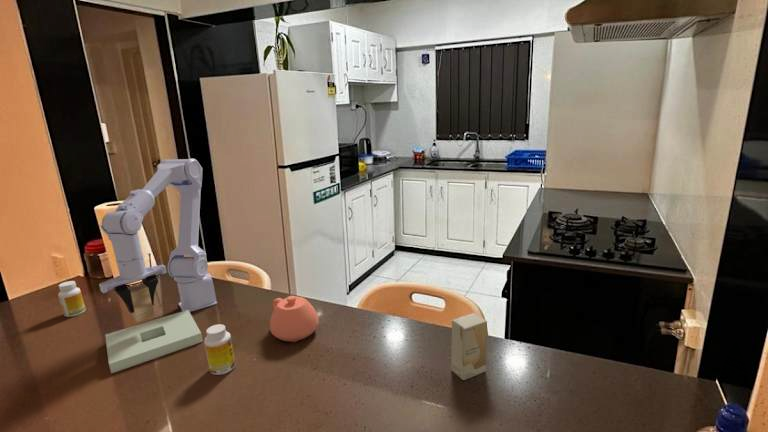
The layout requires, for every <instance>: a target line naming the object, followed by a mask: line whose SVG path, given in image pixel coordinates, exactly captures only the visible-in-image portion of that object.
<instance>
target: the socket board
mask: <svg viewBox="0 0 768 432" xmlns="http://www.w3.org/2000/svg"><path fill="white" fill-rule="evenodd" d="M104 335H105V344H106V352H107V353H106V354H107V361H108V366H109V367H108V368H109V369H110V373H111V374H113V373H118V372H120V371H123V370H126V369H128V368H131V367H133V366H137V365H140V364H143V363H145V362H148V361H151V360H154V359H157V358H161V357H163V356H165V355H168V354H171V353H174V352H177V351H180V350H183V349H186V348H189V347H191V346H194V345H197V344H199V343H200V344H201V343H204V342H203V341H204V339H203V335H202V331H201V329H199V327H198V325H197V322H196V321H195V319H194V317H193V316H192V314H191V312H189V310H185V311H182V310H181V311H180V312H176V313H172V314H169V315H165V316H163V317H158V318H156V319H152V320H150V321H146V322H143V323H140V324H136V325H133V326H129V327H126V328H122V329H119V330H116V331H112V332H110V333H105V334H104Z"/></svg>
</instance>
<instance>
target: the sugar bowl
mask: <svg viewBox="0 0 768 432" xmlns="http://www.w3.org/2000/svg"><path fill="white" fill-rule="evenodd" d="M272 307H273V311H272V314H271V317H270V320H269V329H270V330H269V331H270V332H271V334H272V335H273V336H274V337H275V338H277V339H279V340H281V341H283V342H291V343H297V342H298V341H302V340H303V339H307V338H308V337H309V336H311V335H312V334H313V333H314V332H315V330H316V329H317V328H318V326H319V324H320V323H319V317H318V314H317V311H316V310H315V309H316V308H314V306H313V305H312V304H311V303H310V302H309V301H308V300H307V299H306V298H305V297H301V296H297V295H289V296H287V297H284V298H281V297H278V298H275V299H273V301H272Z"/></svg>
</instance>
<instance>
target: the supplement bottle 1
mask: <svg viewBox="0 0 768 432" xmlns="http://www.w3.org/2000/svg"><path fill="white" fill-rule="evenodd" d="M58 288H59V292H58V300H59V303H60V307H61V310H62V314H63V315H64V317H67V318H70V317H76V316H80V315H83V313H84V312H86V310H87V309H86V305H85V302H84V298H83V294H82V291H81V289H80V287H77V283H76V281H75V280H69V281H64V282H61V283H60V284H58Z"/></svg>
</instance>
